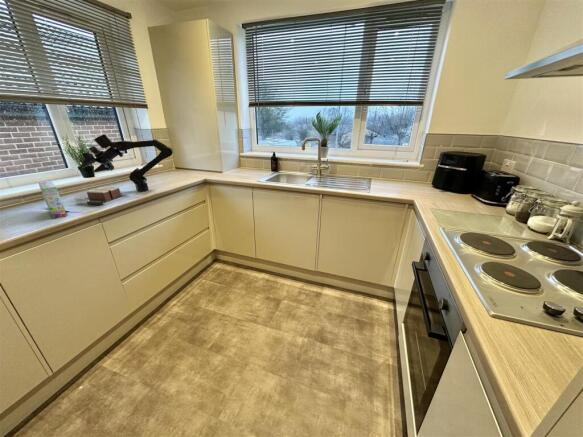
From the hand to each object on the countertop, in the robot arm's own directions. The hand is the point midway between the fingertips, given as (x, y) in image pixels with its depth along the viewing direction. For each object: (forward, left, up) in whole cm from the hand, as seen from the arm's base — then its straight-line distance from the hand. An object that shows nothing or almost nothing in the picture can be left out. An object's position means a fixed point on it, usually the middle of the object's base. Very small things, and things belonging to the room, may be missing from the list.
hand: (87, 169), depth 145 cm
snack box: (-8, +28, -17) cm, 34 cm away
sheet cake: (-11, +1, -16) cm, 19 cm away
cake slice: (-11, +7, -16) cm, 21 cm away
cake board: (-11, +5, -17) cm, 21 cm away
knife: (-15, +17, -17) cm, 28 cm away
